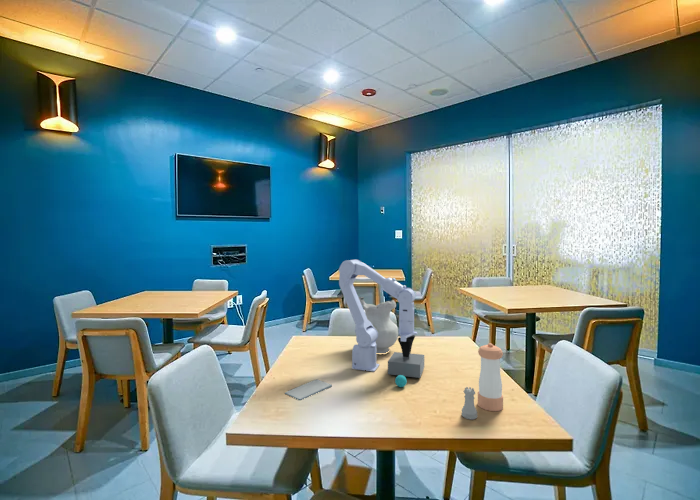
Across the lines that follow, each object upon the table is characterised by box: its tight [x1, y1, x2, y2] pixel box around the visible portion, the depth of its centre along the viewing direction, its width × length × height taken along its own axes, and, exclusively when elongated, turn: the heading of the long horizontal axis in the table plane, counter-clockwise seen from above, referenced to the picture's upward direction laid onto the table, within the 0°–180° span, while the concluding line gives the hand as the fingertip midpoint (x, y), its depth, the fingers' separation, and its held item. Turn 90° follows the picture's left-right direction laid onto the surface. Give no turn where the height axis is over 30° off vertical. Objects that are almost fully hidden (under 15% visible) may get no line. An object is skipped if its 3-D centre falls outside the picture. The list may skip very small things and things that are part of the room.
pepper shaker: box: [477, 342, 504, 412], centre depth 107 cm, size 7×7×19 cm
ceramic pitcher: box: [358, 296, 399, 353], centre depth 164 cm, size 22×20×25 cm
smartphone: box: [284, 378, 332, 401], centre depth 120 cm, size 8×1×15 cm
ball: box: [394, 375, 408, 388], centre depth 122 cm, size 4×4×4 cm
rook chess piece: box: [460, 386, 478, 420], centre depth 101 cm, size 4×4×8 cm
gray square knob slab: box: [387, 351, 425, 379], centre depth 135 cm, size 12×12×8 cm
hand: (406, 355), depth 135 cm, fingers closed on gray square knob slab, 2 cm apart
